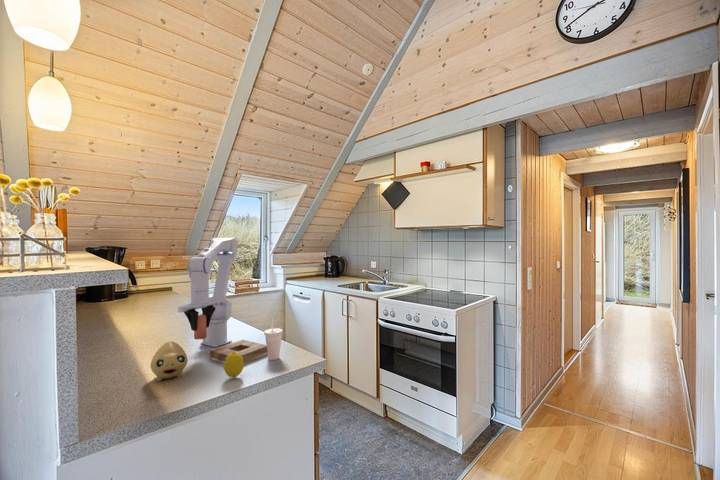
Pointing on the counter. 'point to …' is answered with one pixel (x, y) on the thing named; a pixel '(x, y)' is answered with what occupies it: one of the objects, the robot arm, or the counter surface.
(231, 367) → the lemon
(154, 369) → the cream rounded figure
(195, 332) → the reddish brown tall block
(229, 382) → the counter surface
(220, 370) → the counter surface
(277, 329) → the smoothie
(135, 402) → the counter surface
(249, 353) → the socket block
